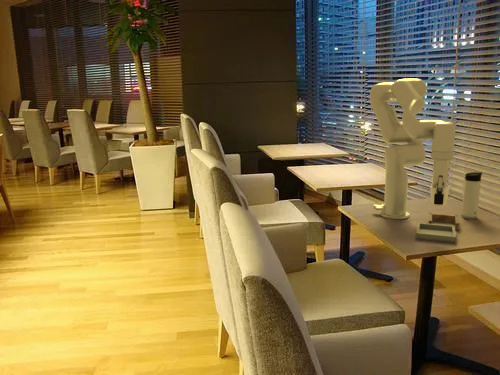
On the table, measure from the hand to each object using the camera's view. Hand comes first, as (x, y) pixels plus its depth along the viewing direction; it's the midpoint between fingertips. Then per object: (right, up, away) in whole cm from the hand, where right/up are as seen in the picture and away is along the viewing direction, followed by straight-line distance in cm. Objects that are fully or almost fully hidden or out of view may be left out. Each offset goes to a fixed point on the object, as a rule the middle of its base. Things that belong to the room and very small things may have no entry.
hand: (438, 201), depth 182 cm
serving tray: (0, -13, +3) cm, 14 cm away
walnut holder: (+8, -10, +16) cm, 21 cm away
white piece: (0, -1, 0) cm, 1 cm away
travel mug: (+24, -8, +27) cm, 37 cm away
